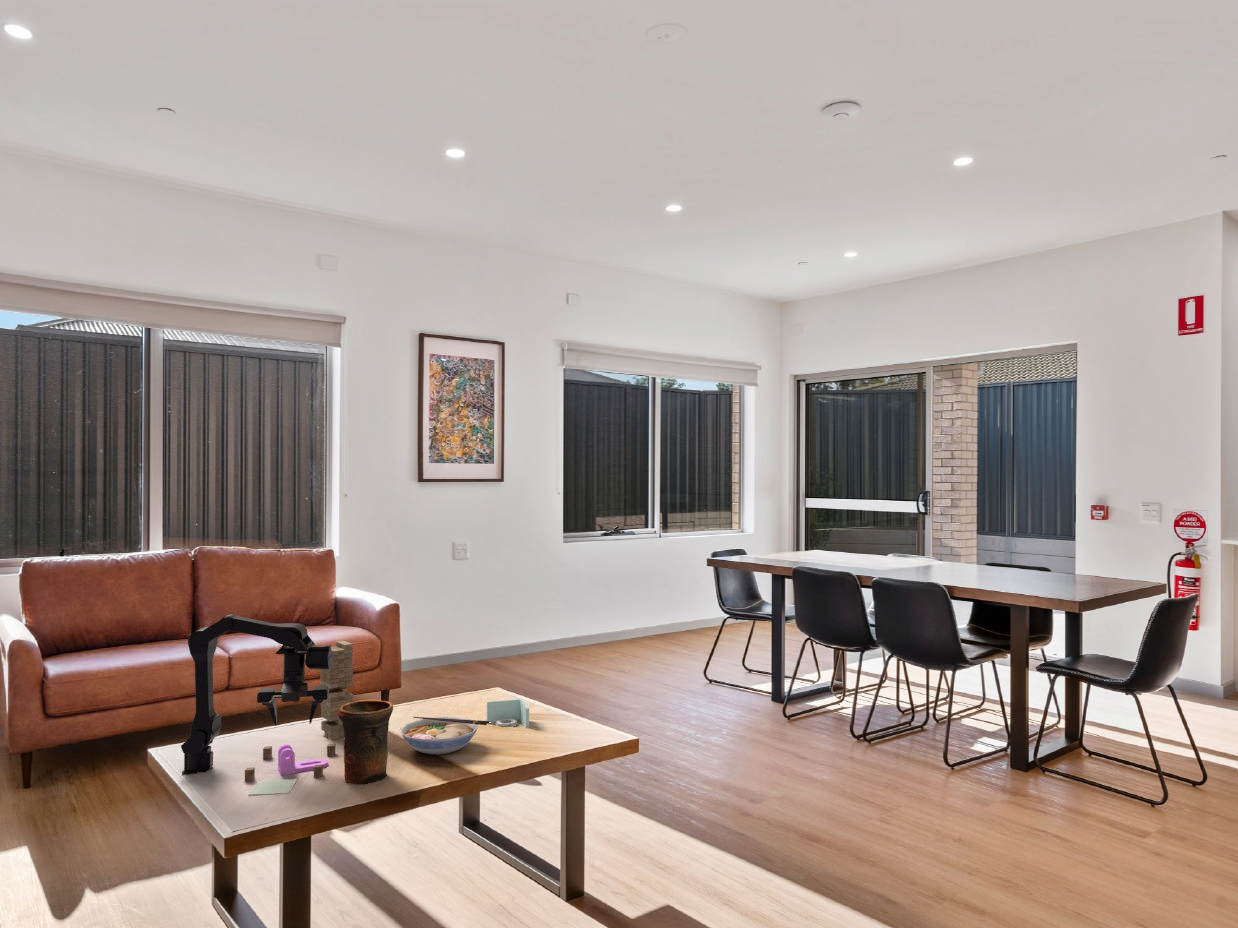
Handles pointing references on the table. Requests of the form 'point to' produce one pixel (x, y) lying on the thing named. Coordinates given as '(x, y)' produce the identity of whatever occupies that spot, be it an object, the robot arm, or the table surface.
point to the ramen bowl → (440, 733)
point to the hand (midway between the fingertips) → (293, 724)
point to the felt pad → (273, 787)
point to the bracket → (290, 766)
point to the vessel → (365, 740)
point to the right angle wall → (508, 712)
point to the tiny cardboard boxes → (268, 754)
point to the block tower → (337, 689)
